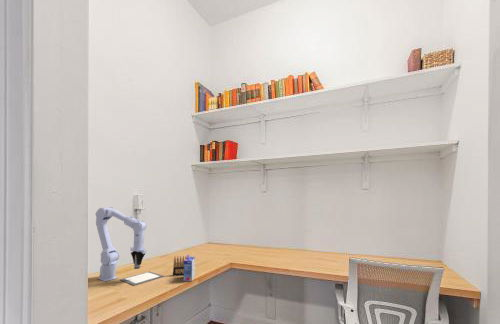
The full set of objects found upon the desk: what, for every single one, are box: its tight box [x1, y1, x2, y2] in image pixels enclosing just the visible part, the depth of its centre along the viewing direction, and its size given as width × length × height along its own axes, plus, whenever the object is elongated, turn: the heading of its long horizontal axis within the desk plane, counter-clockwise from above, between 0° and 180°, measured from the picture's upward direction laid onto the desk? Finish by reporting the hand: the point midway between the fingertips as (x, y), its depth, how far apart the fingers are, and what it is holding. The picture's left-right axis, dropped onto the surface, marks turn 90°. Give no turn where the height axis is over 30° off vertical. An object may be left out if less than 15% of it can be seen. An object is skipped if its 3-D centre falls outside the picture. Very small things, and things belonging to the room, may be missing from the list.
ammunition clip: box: [172, 255, 190, 277], centre depth 163 cm, size 11×2×12 cm, turn 100°
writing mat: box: [119, 271, 164, 286], centre depth 155 cm, size 16×20×1 cm
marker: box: [133, 255, 141, 270], centre depth 153 cm, size 3×3×8 cm
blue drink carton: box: [183, 254, 196, 282], centre depth 155 cm, size 10×6×14 cm, turn 2°
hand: (137, 264), depth 153 cm, fingers closed on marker, 3 cm apart
